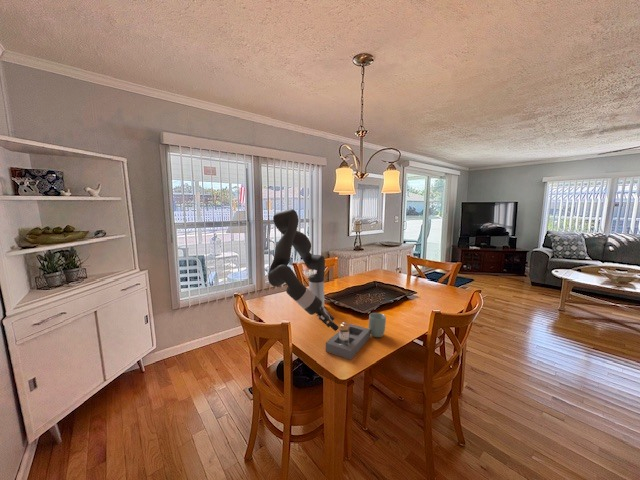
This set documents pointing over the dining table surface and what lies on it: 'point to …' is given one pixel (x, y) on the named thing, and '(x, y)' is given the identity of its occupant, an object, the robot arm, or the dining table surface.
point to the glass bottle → (344, 333)
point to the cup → (377, 324)
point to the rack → (356, 341)
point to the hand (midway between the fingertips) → (334, 324)
